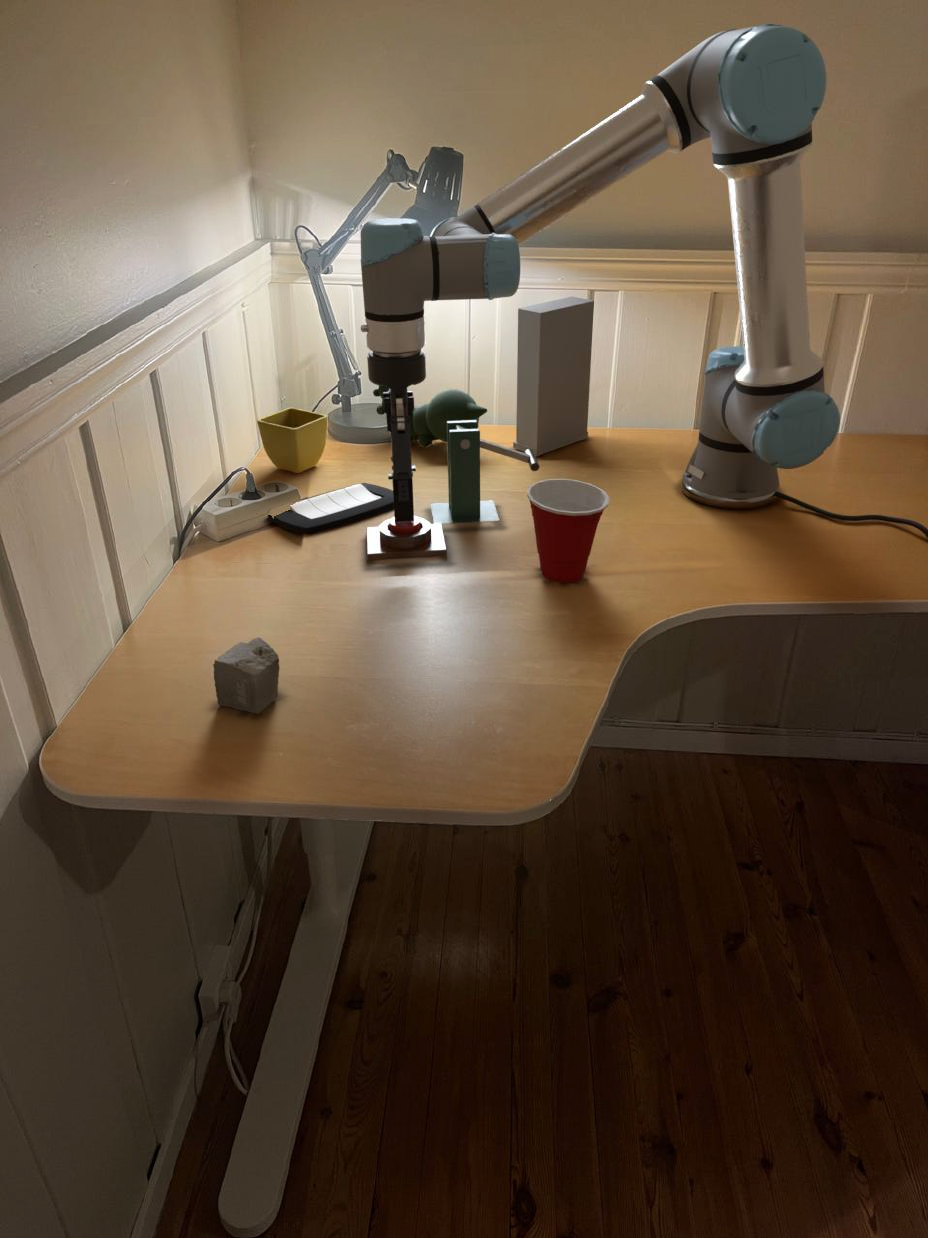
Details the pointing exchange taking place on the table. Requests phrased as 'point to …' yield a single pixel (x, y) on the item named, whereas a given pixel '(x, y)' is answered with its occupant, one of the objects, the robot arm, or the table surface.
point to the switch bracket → (463, 479)
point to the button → (405, 526)
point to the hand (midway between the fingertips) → (404, 518)
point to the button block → (405, 542)
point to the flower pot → (294, 438)
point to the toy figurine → (438, 414)
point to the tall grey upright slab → (553, 374)
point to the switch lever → (509, 452)
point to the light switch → (335, 508)
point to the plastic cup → (565, 525)
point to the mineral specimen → (247, 676)
